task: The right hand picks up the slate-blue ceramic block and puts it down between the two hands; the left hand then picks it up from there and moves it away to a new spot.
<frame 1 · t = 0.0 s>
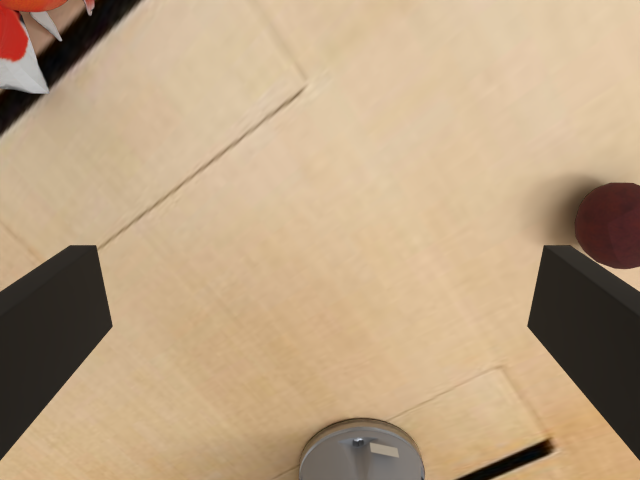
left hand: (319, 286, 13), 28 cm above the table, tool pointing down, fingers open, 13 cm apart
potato: (596, 212, 41), on the table
fish: (52, 22, 35), on the table
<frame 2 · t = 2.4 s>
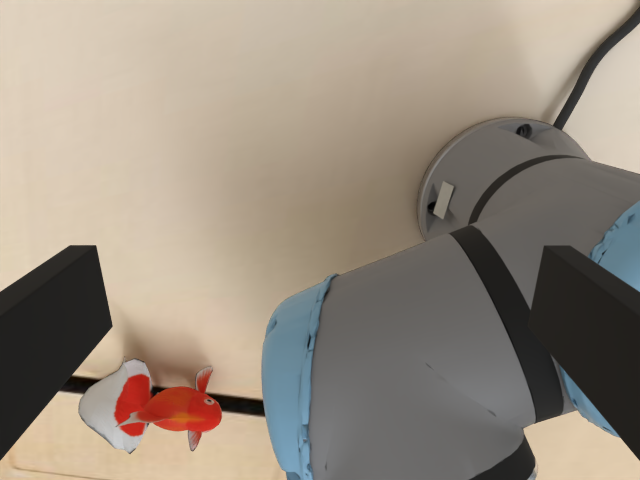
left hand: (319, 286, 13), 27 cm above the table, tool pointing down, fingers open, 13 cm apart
fish: (162, 381, 47), on the table
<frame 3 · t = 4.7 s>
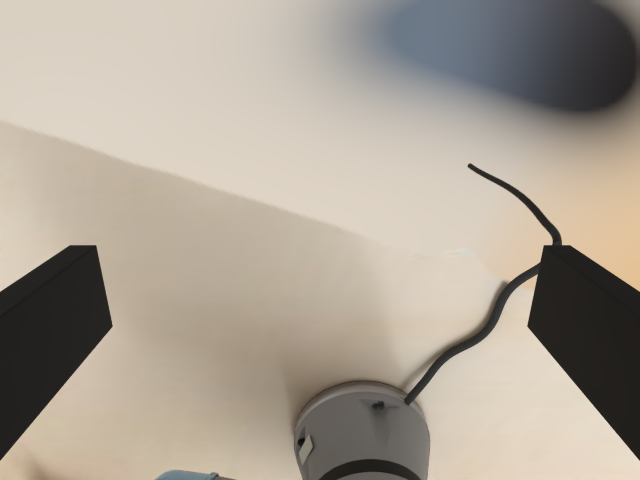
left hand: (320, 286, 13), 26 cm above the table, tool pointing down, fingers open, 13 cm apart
when the right hand's fingers open (4 cm above the table, at t = 7.0 s): block drops 1 cm, on the table.
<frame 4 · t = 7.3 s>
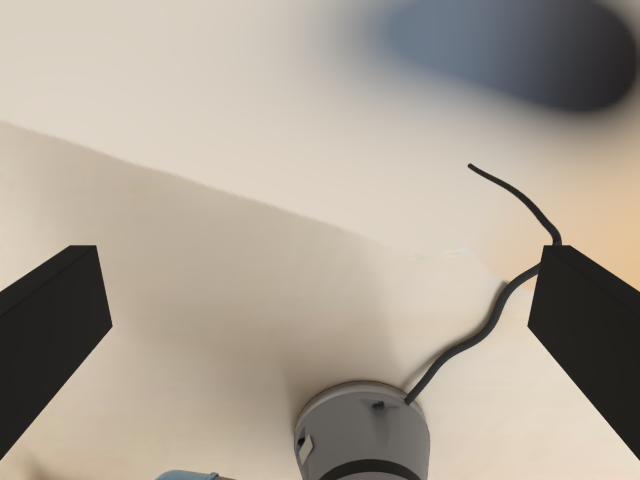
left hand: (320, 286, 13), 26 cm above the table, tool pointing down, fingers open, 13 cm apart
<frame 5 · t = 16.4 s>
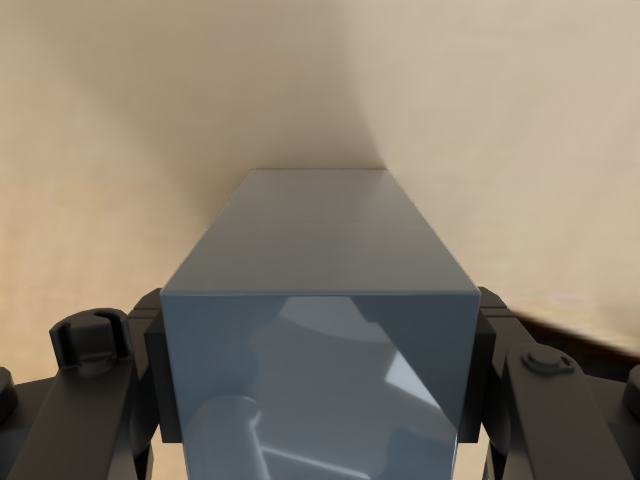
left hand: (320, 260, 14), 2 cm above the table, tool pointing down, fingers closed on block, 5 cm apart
block: (319, 236, 17), on the table, touching left hand
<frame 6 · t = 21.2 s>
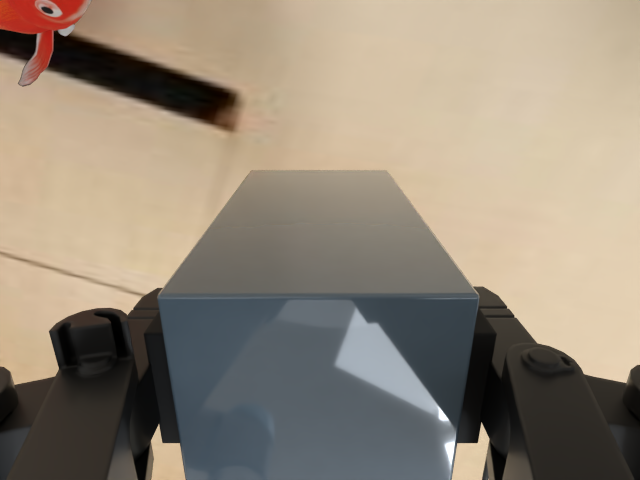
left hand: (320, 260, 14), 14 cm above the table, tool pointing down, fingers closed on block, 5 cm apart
block: (319, 237, 17), point 12 cm above the table, touching left hand
when the left hand's fingers open (4 cm above the table, at t = 25.8 s): block drops 2 cm, on the table.
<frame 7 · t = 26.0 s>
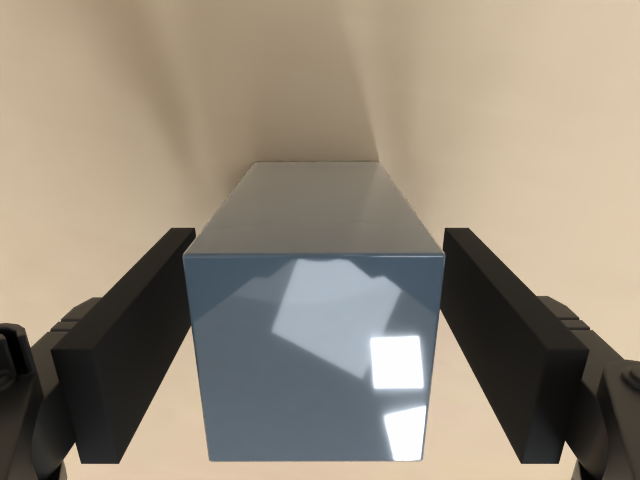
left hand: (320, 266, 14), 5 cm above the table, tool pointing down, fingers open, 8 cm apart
block: (317, 224, 18), on the table
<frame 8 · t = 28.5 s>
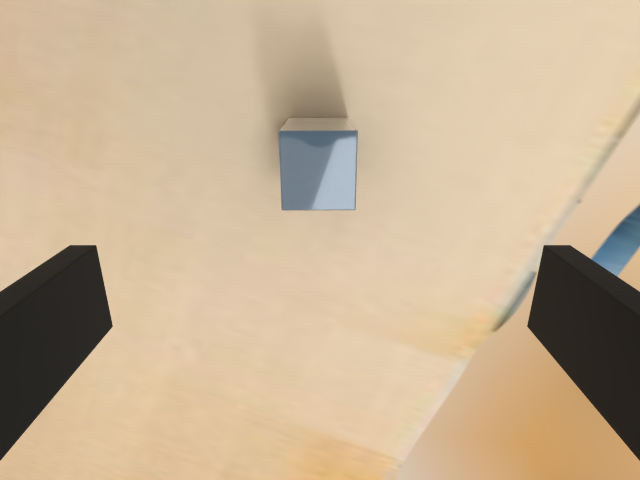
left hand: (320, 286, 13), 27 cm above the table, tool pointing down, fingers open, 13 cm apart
block: (318, 149, 38), on the table
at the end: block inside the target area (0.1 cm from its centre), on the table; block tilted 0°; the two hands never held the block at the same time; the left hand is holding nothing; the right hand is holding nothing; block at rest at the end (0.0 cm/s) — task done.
